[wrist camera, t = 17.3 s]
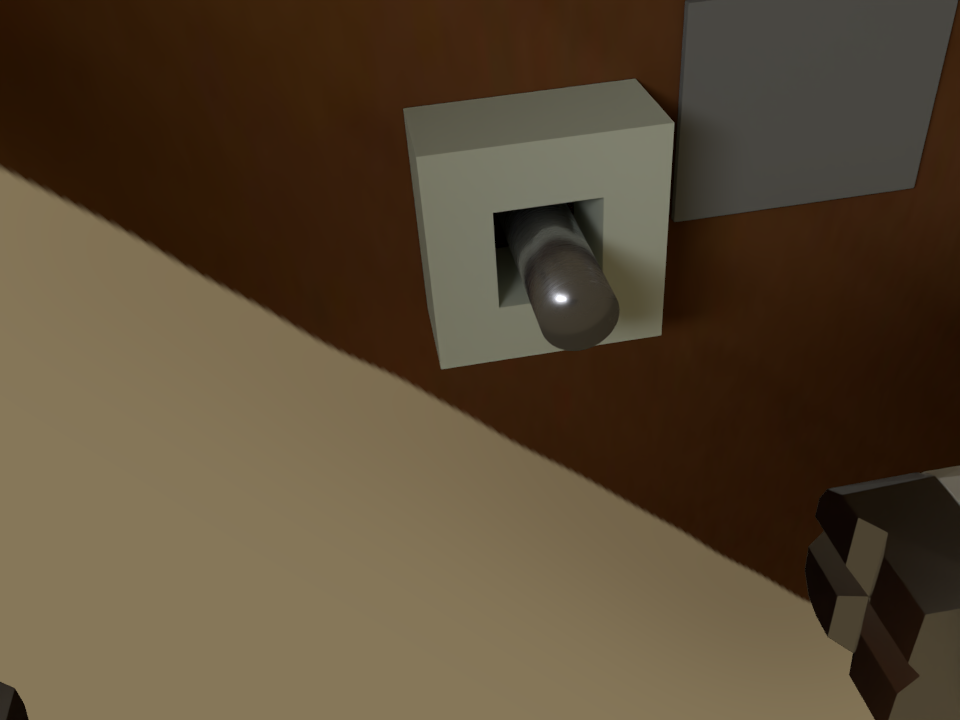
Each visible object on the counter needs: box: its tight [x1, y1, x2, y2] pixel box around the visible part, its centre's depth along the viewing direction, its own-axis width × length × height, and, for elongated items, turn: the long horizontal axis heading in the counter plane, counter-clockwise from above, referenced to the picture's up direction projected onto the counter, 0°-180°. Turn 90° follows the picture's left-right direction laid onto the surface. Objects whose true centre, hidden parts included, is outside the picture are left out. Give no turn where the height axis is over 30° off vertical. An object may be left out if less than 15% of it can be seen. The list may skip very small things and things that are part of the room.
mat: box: [671, 0, 958, 222], centre depth 41 cm, size 12×10×1 cm
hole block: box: [403, 79, 674, 369], centre depth 40 cm, size 10×10×5 cm
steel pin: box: [496, 203, 620, 351], centre depth 38 cm, size 3×3×10 cm
